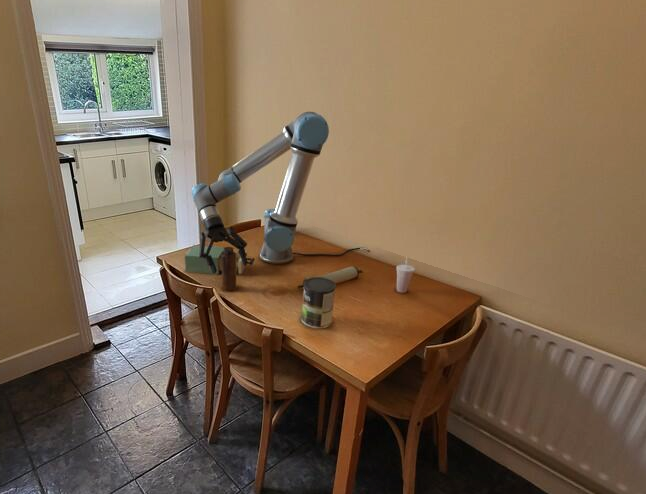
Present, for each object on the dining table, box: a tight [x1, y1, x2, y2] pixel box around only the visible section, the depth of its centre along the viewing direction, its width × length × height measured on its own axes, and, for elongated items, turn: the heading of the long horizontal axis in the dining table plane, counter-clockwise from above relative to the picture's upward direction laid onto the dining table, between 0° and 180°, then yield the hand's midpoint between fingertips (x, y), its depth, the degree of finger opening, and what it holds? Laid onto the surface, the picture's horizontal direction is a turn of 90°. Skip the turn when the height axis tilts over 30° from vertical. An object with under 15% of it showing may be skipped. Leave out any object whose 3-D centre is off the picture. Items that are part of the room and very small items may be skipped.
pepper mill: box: [221, 246, 237, 293], centre depth 158 cm, size 5×5×17 cm
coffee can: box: [301, 276, 337, 330], centre depth 137 cm, size 10×10×14 cm
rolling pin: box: [297, 266, 363, 289], centre depth 163 cm, size 32×6×5 cm, turn 117°
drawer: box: [218, 250, 255, 275], centre depth 177 cm, size 18×11×6 cm, turn 77°
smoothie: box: [395, 256, 415, 294], centre depth 156 cm, size 6×6×14 cm
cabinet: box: [184, 244, 226, 275], centre depth 179 cm, size 15×13×8 cm
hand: (230, 268), depth 157 cm, fingers open, 13 cm apart
